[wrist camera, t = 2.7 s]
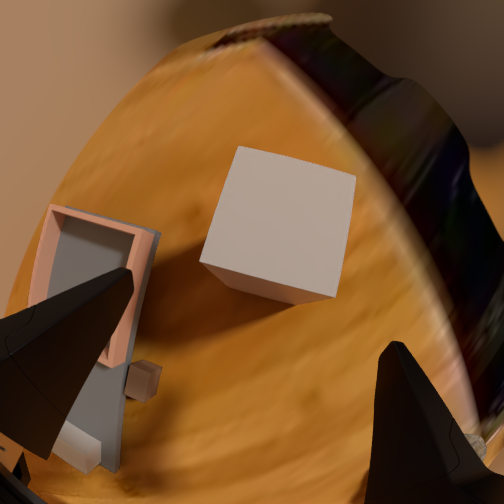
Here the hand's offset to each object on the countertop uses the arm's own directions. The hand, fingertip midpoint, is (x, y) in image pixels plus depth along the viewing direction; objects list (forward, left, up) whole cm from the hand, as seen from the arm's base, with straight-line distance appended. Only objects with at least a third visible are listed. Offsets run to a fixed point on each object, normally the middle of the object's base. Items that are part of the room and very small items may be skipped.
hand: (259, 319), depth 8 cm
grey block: (+3, -3, -11) cm, 12 cm away
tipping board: (+3, +14, -9) cm, 17 cm away
